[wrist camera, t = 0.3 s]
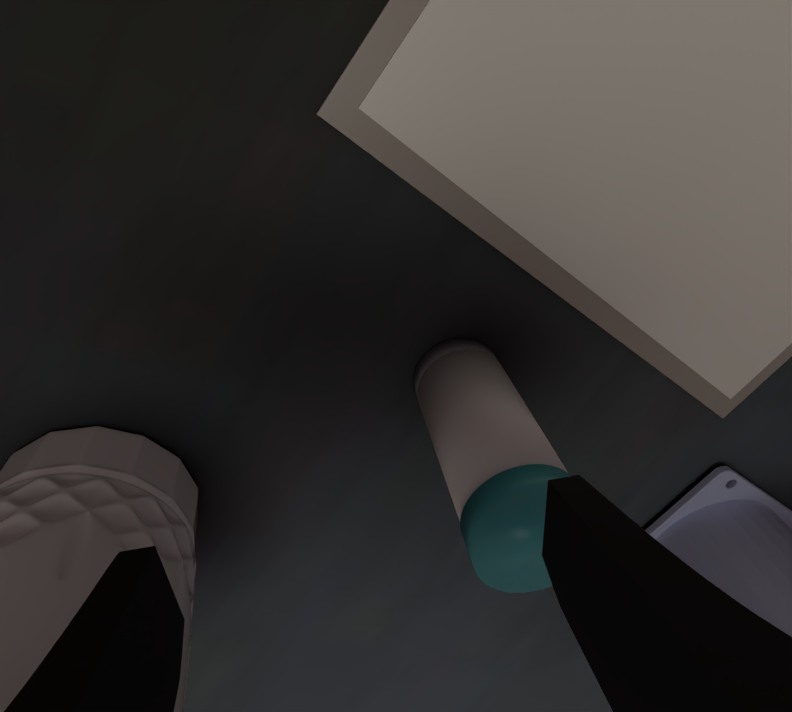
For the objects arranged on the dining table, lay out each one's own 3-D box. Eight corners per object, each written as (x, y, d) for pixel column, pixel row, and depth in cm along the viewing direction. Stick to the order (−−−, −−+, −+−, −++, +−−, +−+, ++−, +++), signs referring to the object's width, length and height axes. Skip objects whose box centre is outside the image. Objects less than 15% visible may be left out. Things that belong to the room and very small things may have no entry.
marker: (518, 364, 21) (627, 527, 15) (461, 427, 22) (538, 607, 16) (450, 320, 20) (537, 478, 13) (393, 390, 21) (446, 569, 14)
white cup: (31, 372, 19) (-184, 677, 10) (254, 463, 22) (236, 753, 13) (-52, 534, 21) (-281, 887, 13) (159, 594, 24) (91, 907, 16)
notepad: (1063, 101, 20) (1077, 102, 19) (719, 415, 24) (725, 421, 24) (746, -559, 11) (760, -577, 11) (316, 112, 16) (317, 115, 16)
